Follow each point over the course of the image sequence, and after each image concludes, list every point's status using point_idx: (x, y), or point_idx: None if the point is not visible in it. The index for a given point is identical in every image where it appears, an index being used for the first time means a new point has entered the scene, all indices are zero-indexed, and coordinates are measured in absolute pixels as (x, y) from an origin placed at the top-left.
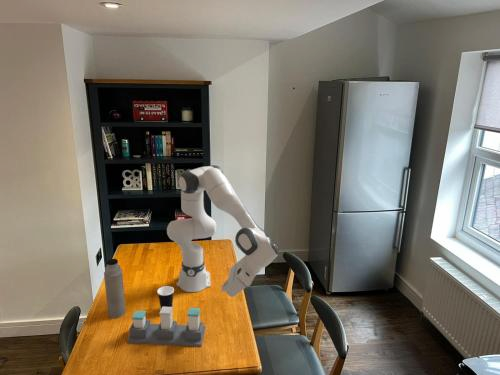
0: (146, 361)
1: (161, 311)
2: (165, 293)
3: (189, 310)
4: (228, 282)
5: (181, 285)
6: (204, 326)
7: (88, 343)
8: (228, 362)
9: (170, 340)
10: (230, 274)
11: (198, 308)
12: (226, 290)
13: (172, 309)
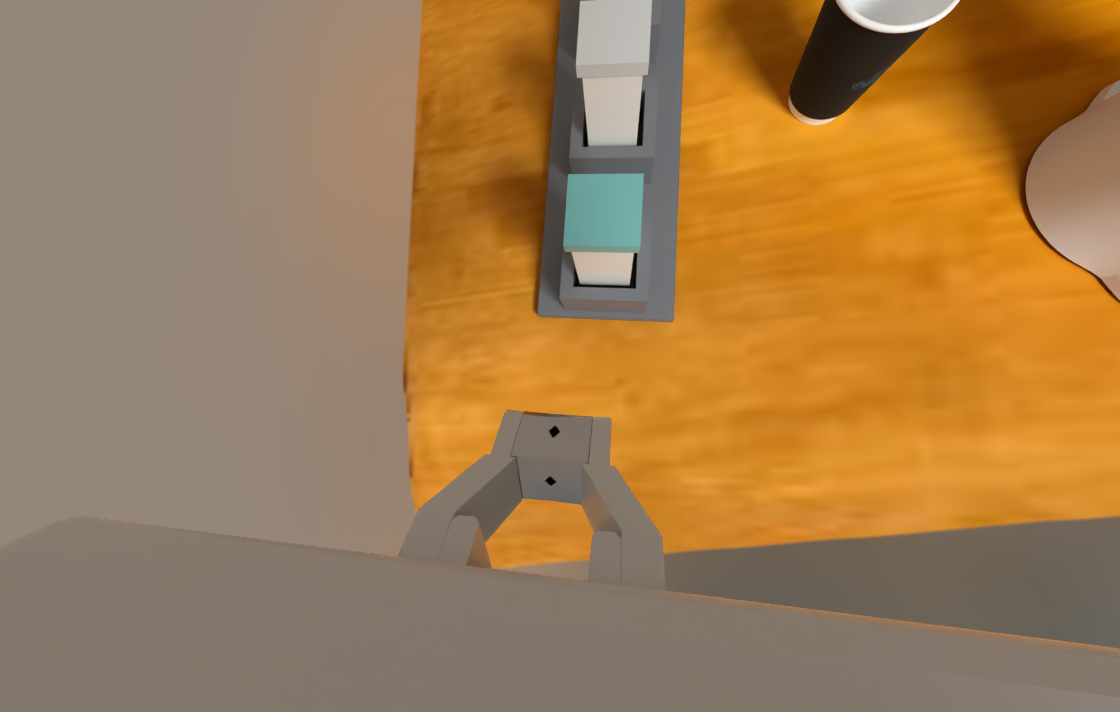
0: (459, 116)
1: (596, 7)
2: (910, 11)
3: (611, 179)
4: (280, 601)
5: (1092, 111)
6: (670, 314)
7: None
8: (441, 444)
9: (565, 173)
10: (666, 690)
11: (636, 236)
12: (18, 540)
13: (636, 72)
